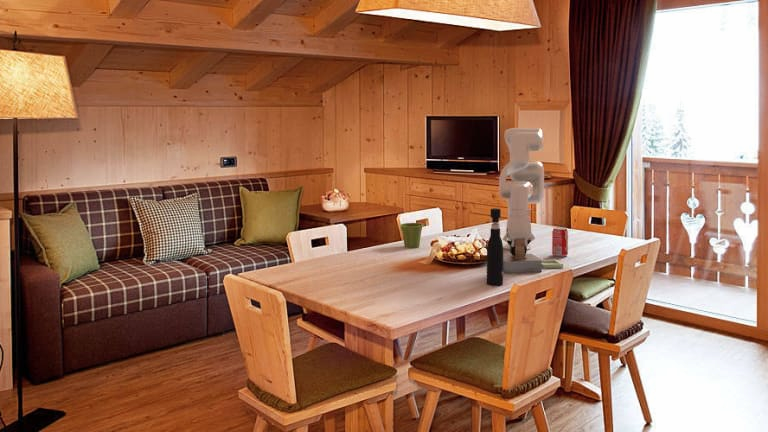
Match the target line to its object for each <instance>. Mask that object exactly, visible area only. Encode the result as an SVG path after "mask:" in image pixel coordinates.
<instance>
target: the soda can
mask: <svg viewBox="0 0 768 432" xmlns="http://www.w3.org/2000/svg"><path fill="white" fill-rule="evenodd" d="M551 235H552V236H551V238H552V239H551V254H552V255H553V257H558V258H565V257H567V256H568V254H569V230H568V228H567V227H564V226H555V227H553V229H552V234H551Z"/></svg>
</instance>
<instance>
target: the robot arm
mask: <svg viewBox="0 0 768 432" xmlns="http://www.w3.org/2000/svg"><path fill="white" fill-rule="evenodd" d="M504 141H505V144H506V146H507V148H508V151H509V162H508V163H507V164H506V165H504V166H503V168H502V170H501V172H500V173H499V174H500V175H499V179H498V180H499V181H498V182H499V183H498V184H499V185H498V187H499V188H498V193H499V196H500V197H501V198H502V199H505V200H506V201H507V218H506V227H505V234H504V235H503V237H502V240H503V241H504V242H506V243H507V244H504V245H503V249H506V250H509V251H510V254H511V255H512V256H515V247H514V243H515V239H516V238H525V255H526V254H528V253H527V251H528V250H530V249H531V247H532V246H531V245H530V243H531V242H533V241H534V240H536V239H535V238H536V237H535V236H534V234H533V233H532V225H531V224H532V222H531V218H530V217H531V216H530V214H531V213H532V209H529V204H535V205H536V204H541V203H542V202H543V201H544V195H545V194H544V193H545V192H544V191H545V189H544V188H545V187H544V186H545V185H544V184H545V168H544V164H543V163H542V162H540V161H530V152H541V151H542V149H543V148H544V133H543V131H542V129H541V128H540V127H512V128H511V127H510V128H508V129H506V130H505V131H504ZM508 177H510V179H511V180H507V181H506V179H507V178H508ZM532 182H533V183H532ZM525 255H524V256H525Z"/></svg>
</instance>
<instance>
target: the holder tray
mask: <svg viewBox="0 0 768 432" xmlns="http://www.w3.org/2000/svg"><path fill="white" fill-rule="evenodd" d="M541 260H542V270H544V269H545V270H546V269H549V270H550V269H563V268H564V263H563V262H561V261H559V260H557V259H541Z"/></svg>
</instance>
